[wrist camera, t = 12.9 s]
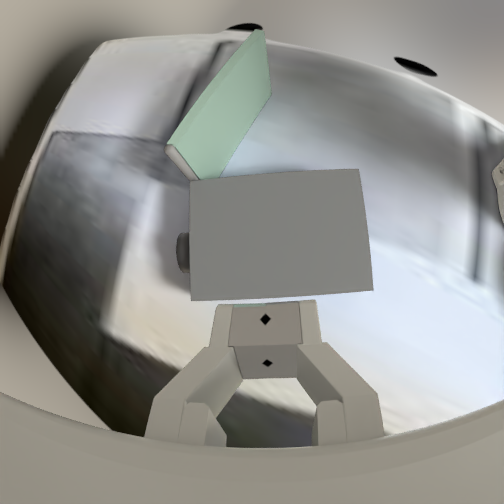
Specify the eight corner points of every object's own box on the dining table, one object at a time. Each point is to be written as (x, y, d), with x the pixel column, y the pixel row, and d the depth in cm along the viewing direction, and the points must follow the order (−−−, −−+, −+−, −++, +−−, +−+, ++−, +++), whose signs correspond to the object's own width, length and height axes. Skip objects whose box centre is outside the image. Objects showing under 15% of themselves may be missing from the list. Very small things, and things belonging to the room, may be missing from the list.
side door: (258, 89, 43) (247, 27, 29) (271, 94, 43) (264, 31, 29) (193, 191, 42) (153, 147, 28) (206, 198, 41) (170, 155, 28)
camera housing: (347, 189, 39) (358, 168, 32) (358, 291, 37) (373, 290, 30) (191, 200, 42) (174, 183, 35) (193, 300, 39) (174, 301, 33)
